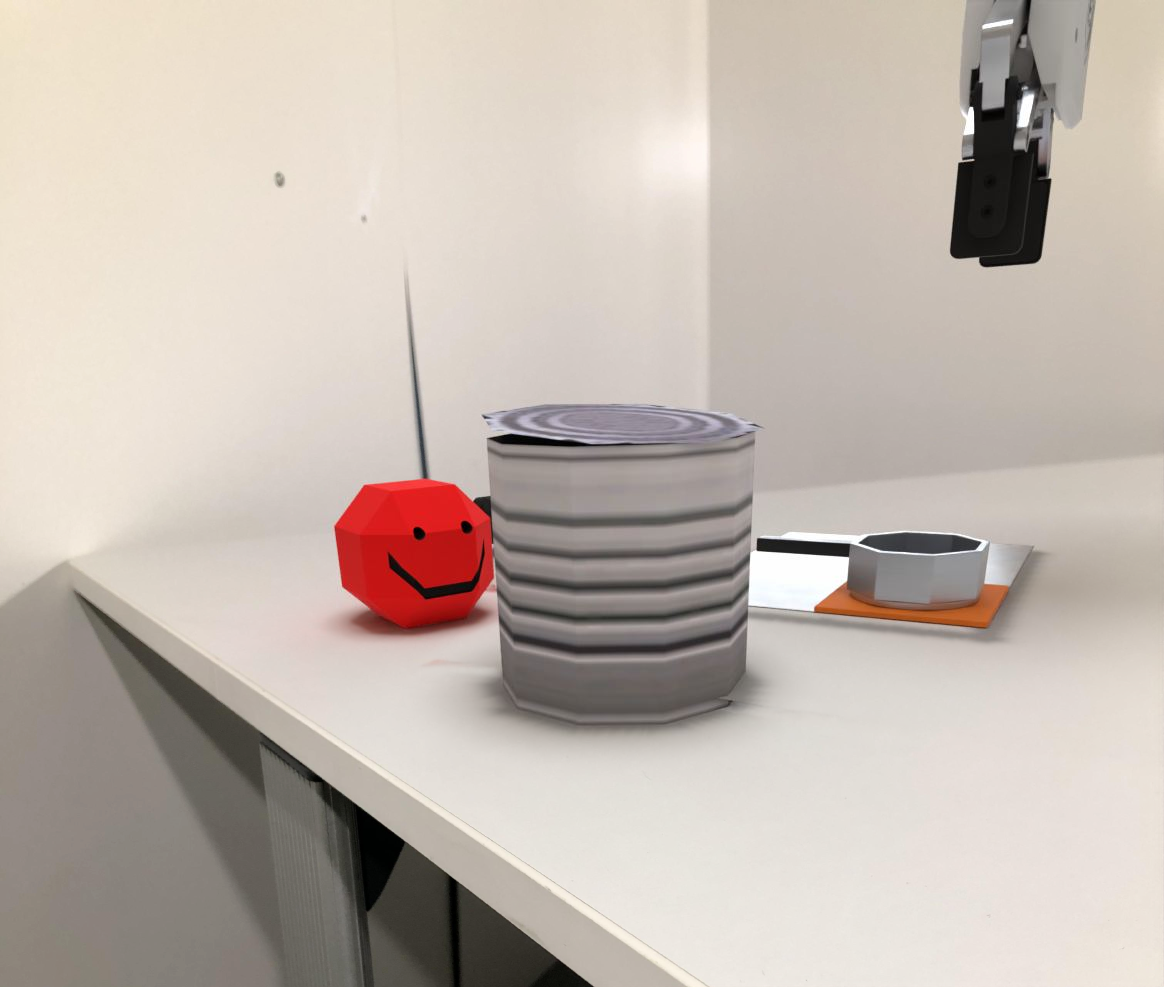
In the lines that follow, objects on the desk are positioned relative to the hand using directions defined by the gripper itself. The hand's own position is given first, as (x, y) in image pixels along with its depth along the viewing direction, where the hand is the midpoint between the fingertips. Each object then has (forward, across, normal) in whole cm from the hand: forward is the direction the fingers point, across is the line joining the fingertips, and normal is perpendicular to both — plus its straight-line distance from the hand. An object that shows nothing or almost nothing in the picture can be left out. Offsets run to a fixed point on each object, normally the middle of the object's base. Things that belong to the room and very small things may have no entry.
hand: (997, 261), depth 50 cm
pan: (+17, -4, +5) cm, 18 cm away
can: (+18, -22, +11) cm, 31 cm away
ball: (+18, -16, +28) cm, 37 cm away
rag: (+17, -4, +2) cm, 18 cm away
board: (+18, +4, +6) cm, 19 cm away
